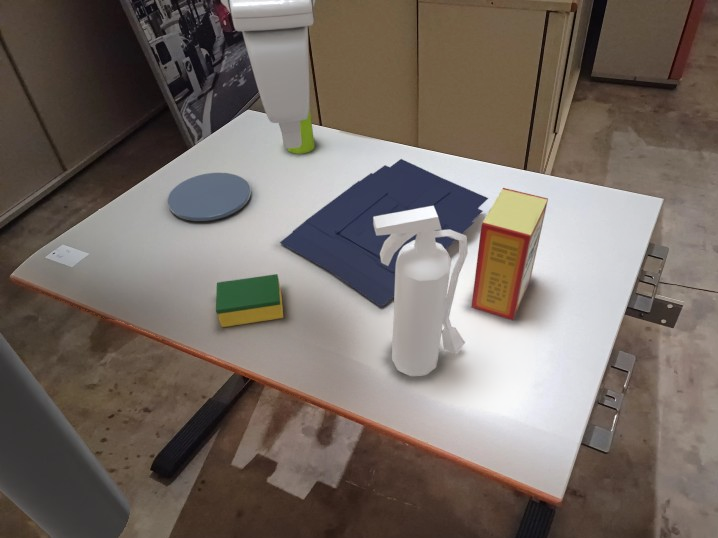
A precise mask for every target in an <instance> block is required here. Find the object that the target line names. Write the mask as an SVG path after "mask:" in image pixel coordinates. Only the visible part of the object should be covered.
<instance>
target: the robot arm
mask: <svg viewBox="0 0 718 538" xmlns="http://www.w3.org/2000/svg"><path fill="white" fill-rule="evenodd" d="M220 3H221V4H222V5H223V6H224V7H226V10H227V11H228V12H229V14H230V16H231V21H232V24H233V28H234V30H235V31H237V32H242V36H243V41H244V44H245V48H246V52H247V55H248V60H249V62H250V66H251V70H252V73H253V77H254V80H255V83H256V87H257V90H258V94H259V97H260V101H261V104H262V107H263V110H264V112H265V115H266V117H267V119H268V121H269V122H270V123H273V124H278V127H279V129H280V132H281V136H282V137H281V138H282V143H283V146H284V148H286V149H287V148H297V147H300V146H301V145H302V140H301V132H300V121H302V120H305V119H307V118H308V115H309V105H310V103H311V102H310V99H311V95H310V94H311V92H310V91H311V90H310V88H311V87H310V55H309V52H310V51H309V49H310V47H309V29H308V28H309V27H311V26H313V25H314V21H315V20H314V16H315V15H314V7H315V3H316V0H220Z"/></svg>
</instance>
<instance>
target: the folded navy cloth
mask: <svg viewBox="0 0 718 538" xmlns="http://www.w3.org/2000/svg"><path fill="white" fill-rule="evenodd" d="M487 200H489V197H487V196H485V195H482V194H480V193H477V192H475V191H473V190H471V189H469V188H467V187H464V186H461V185H460V184H457V183H455V182H453V181H450V180H448V179H446V178H443V177H442V176H440V175H437V174H435V173H433V172H430V171H429V170H426V169H424V168H422V167H420V166H417V165H416V164H413V163H412V162H409V161H407V160H404V159H402V158H400V159H399V160H397V161H396V162H395V163H394V164H392V165H390V166H388V165H386V164H385V165H383V166H381V167H380V168H379V169H377V170H376V171H374V172H373V173H372V172H370V173H369V174H368V175H366V176H365V177H363V178H362V179H361V180H358V181H357V182H355V183H354V184H352V186H350V187H349V188H347V189H346V190H344V191H343V192H342V193H341V194H339V195H338V196H337V197H335V198H334V199H333V200H331V201H329V202H328V203H327V204H326V205H324V206H323V207H322V208H320V209H319V210H318V211H316V212H315V213H313V214H312V215H311V216H310V217H308V218H307V219H305V221H303V222H302V223H301V224H300V225H299V226H298V227H296V228H295V229H294V230H292V232H291V233H290V234H288V235H287V236H286V237H285V238H283V239H282V240H281V241H280V242H279V244H280V245H283V246H284V247H286V248H288V249H290V250H292V251H293V252H295V253H297V254H298V255H300V256H301V257H303V258H306V259H307V260H309V261H310V262H312V263H314V264H316V265H317V266H319V267H321V268H323V269H324V270H327V271H328V272H329V273H332V275H334V276H336V277H337V278H338V279H340V280H341V281H343V282H344V283H346V284H347V285H349V287H351V288H353V289H354V290H356V291H357V292H358V293H360V294H361V295H363V296H364V297H365V298H367V299H369V300H370V301H372V302H373V303H375V305H377V306H379V307H380V308H382V307H384V306H385V305H386V304H388V303H389V301H391V300H392V299H394V293H395V269H396V261H397V258H398V254H399V252H400V250H401V249H402V247H403V246H404V245H406V244H408V243H410V242H411V241H413V240H415V239H416V236H417V234H416V235H414V236H413V237H412V238H410V239H409V240H407V241H406V242H405V243H404V244H403V245H402V246H401V247H400V248H399V249H398V250H397V251H396V252H395V253H394V255H393V257H392V259H391V261H390V263H389V265H388V266H387V265H385V264H383V263H381V258H380V252H381V249H382V247H383V244H384V242H385V241H386V240H387V239H388V237H389V236H390V235H391V234H388V235H378V236H376V232H375V229H374V225H373V217H374V216H380V215H385V214H391V213H396V212H402V211H407V210H413V209H418V208H423V207H429V206H434V208H435V210H436V213H437V215H438V218H439V222H440V226H441V229H442V230H449V229H450V230H453V231H455V232H458V233H460V234H463V235H464V233H465V232H466V231H467V230H468V229H469V228H470V227H472V226H473V224H474V223H475V220H476V219H477V218H478V217H479V216H480V215H481V214H482V213H483V212H484V210H482V209H480V207H481V206H482V205H483V204H484V203H485V202H486V201H487ZM435 231H438V230H435ZM455 241H457V240H456V239H453V238H450V237H447V236H446V237H436V238H435V242H437V243H439V244H441V245H442V246H443V247H444V248H445V250H447V249H448V248H449V247H450V246H451V245H452V244H454V242H455Z"/></svg>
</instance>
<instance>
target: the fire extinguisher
mask: <svg viewBox="0 0 718 538" xmlns="http://www.w3.org/2000/svg"><path fill="white" fill-rule="evenodd" d="M373 225H374V229H375V232H376V236H378V235H388V234H391V235H390V236H389V237H388V239H387V240H386V241H385V242H384V244H383V247H382V249H381V252H380V258H381V263H383V264H385V265H387V266H388V265H389V263H390V261H391V259H392V257H393V255H394V253H395V252H396V251H397V250H398V249H399V248H400V247H401V246H402V245H403V244H404V243H405V242H406V241H407V240H409V239H410V238H412V237H413V236H414V235H416V234H417V236H416V239H415V240H413V241H411V242H410V243H408V244H406V245H404V246H403V247H402V249H401V250H400V252H399V254H398V258H397V261H396V269H395V293H394V297H393V299H394V300H393V316H392V319H393V321H392V343H391V344H392V345H391V361H392V364H394V366H395V368H396V370H397V371H399V372H401V373H403V374H405V375H407V376H408V377H423V376H427V375H428V374H430V373H431V372H433V371H434V370H435V369H436V368H437V366H438V361H439V354H440V346H441V340H442V346H443V347H442V348H443V350H444V351H446V352H449V353H452V354H454V355H457V354H458V353H459V352H460V350H461V349H462V348H463V346H464V345H465V343H466V342H465V340H464V339H463V336H462V335H461V334H460V332H459V331H458V329H457V327H455V326H452V323H451V320H450V316H451V312H452V311H451V310H452V307H453V301H454V298H455V294H456V289H457V284H458V282H459V276H460V273H461V271H462V268H463V265H464V263H465V261H466V258H467V256H468V235H466V234H464V233H463V234H460V233H458V232H455V231H453V230H450V229H449V230H442V229H441V226H440V222H439V218H438V215H437V213H436V210H435V208H434V206H429V207H423V208H418V209H413V210H407V211H402V212H396V213H391V214H385V215H380V216H374V217H373ZM435 230H438V231H435ZM446 236H447V237H450V238H453V239H456V240H455V241H458V257H457V260H456V262H455V265H454V267H453V268H452V272H451V267H452V259H451V256H450V254H449V252H448V251H447V249H445V248H444V247H443V246H442V245H441V244H439V243H437V242H435V238H436V237H446ZM450 274H451V275H450Z"/></svg>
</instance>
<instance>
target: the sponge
mask: <svg viewBox="0 0 718 538" xmlns="http://www.w3.org/2000/svg"><path fill="white" fill-rule="evenodd" d="M215 296H216V298H215V299H216V300H215V302H216V303H215V312H216V314H217V317H218V320H219V324H220V326H221V328H227V327H233V326H239V325H247V324H253V323H259V322H266V321H272V320H278V319H284V308H283V297H282V288H281V284H280V280H279V275H278V274H277V273H276V274H275V273H274V274H269V275H261V276H254V277H253V276H252V277H249V278H240V279H232V280H226V281H219V282H216V295H215Z"/></svg>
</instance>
